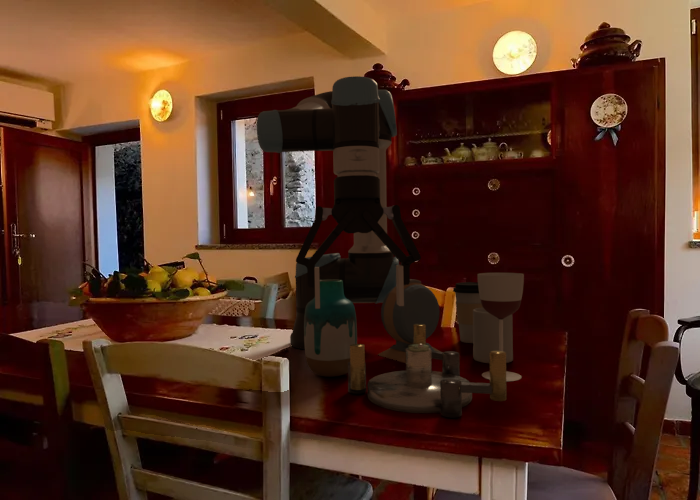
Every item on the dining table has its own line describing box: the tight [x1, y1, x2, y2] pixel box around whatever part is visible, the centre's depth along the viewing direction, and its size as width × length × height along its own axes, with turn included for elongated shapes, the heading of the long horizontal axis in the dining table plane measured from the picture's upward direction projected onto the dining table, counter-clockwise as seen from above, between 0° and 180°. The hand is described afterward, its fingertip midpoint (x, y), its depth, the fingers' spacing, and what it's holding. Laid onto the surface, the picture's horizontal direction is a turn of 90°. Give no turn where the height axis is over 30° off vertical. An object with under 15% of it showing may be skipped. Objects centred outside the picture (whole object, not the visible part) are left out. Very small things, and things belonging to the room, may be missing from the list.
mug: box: [472, 308, 514, 364], centre depth 115 cm, size 12×8×11 cm
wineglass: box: [477, 272, 525, 382], centre depth 100 cm, size 8×9×20 cm
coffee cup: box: [452, 281, 483, 344], centre depth 133 cm, size 9×9×15 cm
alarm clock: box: [377, 278, 442, 364], centre depth 119 cm, size 14×10×18 cm
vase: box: [304, 279, 358, 378], centre depth 103 cm, size 11×11×19 cm
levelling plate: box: [366, 344, 473, 414], centre depth 89 cm, size 18×18×9 cm
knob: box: [347, 343, 367, 395], centre depth 88 cm, size 10×3×10 cm, turn 1°
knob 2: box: [440, 351, 507, 419], centre depth 78 cm, size 10×3×10 cm, turn 79°
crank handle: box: [413, 324, 461, 377], centre depth 99 cm, size 10×3×10 cm, turn 49°
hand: (359, 306), depth 84 cm, fingers open, 13 cm apart
